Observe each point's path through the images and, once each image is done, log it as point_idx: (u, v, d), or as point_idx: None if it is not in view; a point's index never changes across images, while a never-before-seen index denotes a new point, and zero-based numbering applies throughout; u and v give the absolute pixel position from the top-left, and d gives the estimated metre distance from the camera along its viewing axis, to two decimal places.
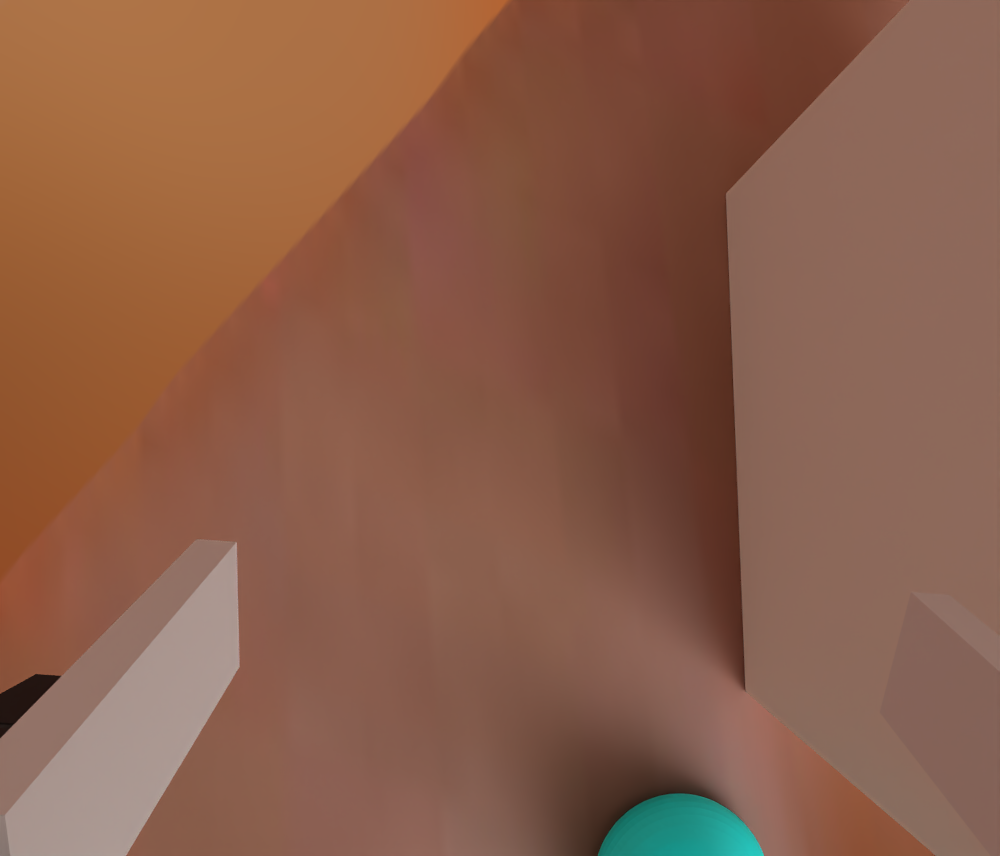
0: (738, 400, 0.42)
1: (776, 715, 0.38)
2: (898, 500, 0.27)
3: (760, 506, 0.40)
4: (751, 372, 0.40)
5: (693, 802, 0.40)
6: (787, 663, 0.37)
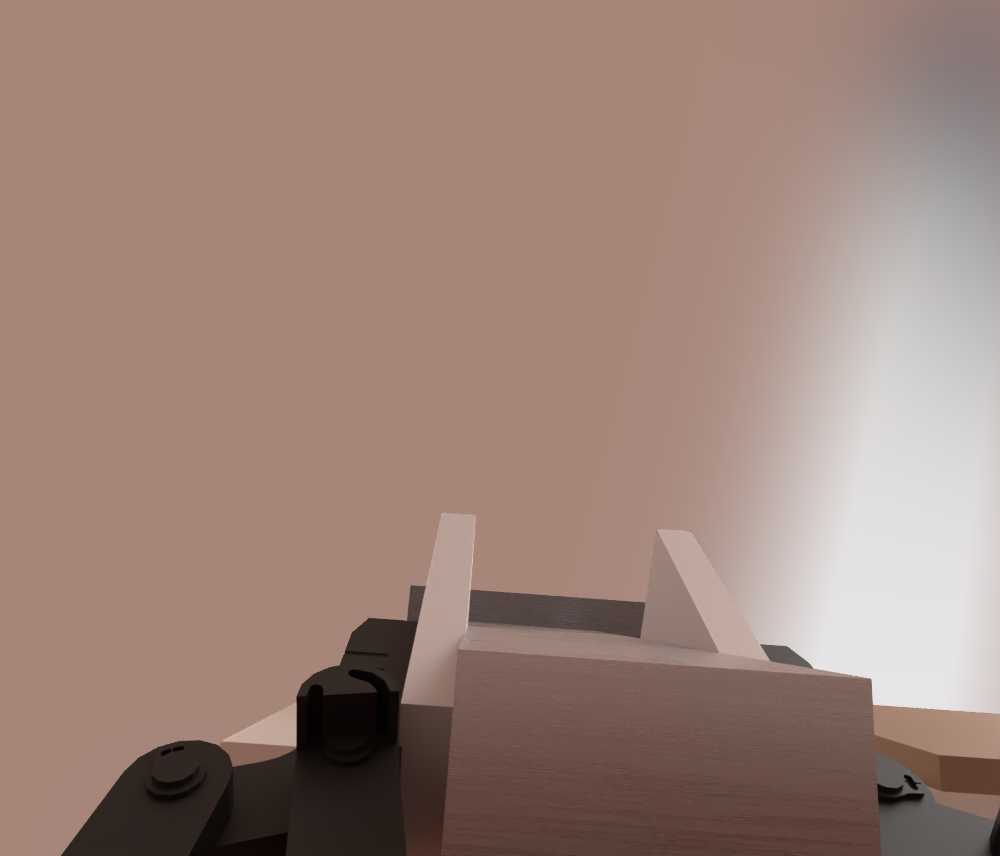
0: None
1: None
2: None
3: None
4: None
5: None
6: None
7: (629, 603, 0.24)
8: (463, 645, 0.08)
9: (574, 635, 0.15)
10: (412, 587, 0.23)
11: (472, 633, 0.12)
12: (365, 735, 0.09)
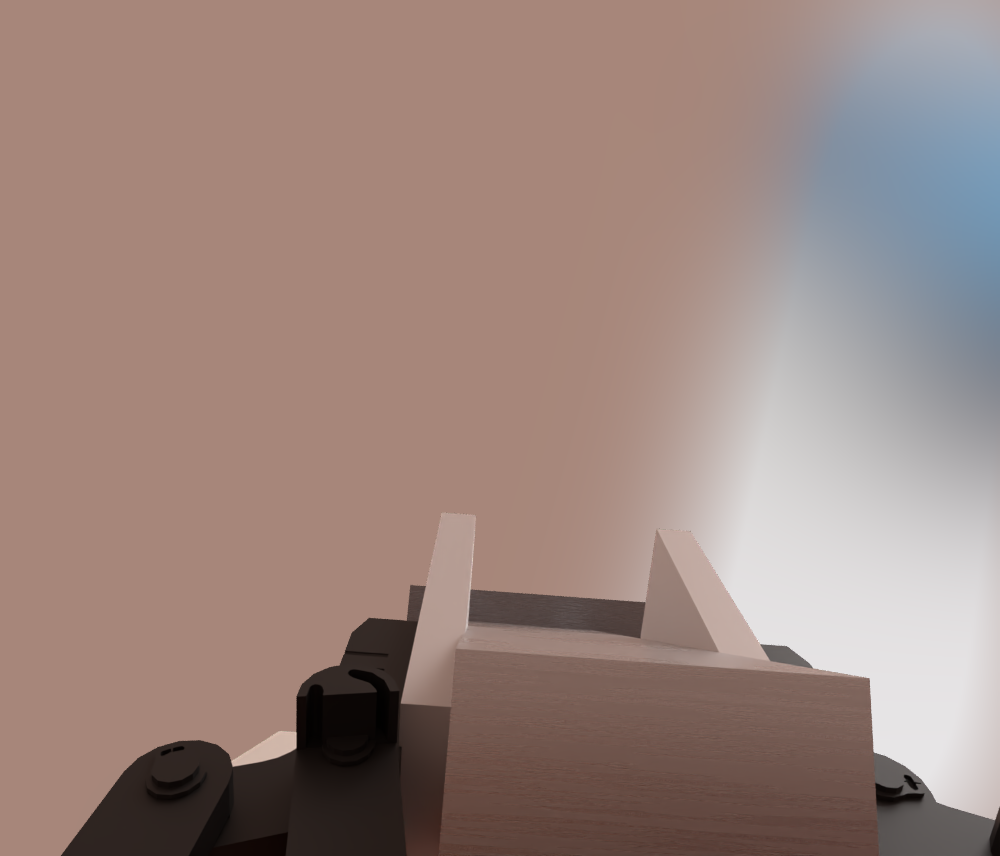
0: None
1: None
2: None
3: None
4: None
5: None
6: None
7: (629, 603, 0.24)
8: (461, 645, 0.08)
9: (573, 635, 0.15)
10: (412, 587, 0.23)
11: (471, 633, 0.12)
12: (365, 735, 0.09)
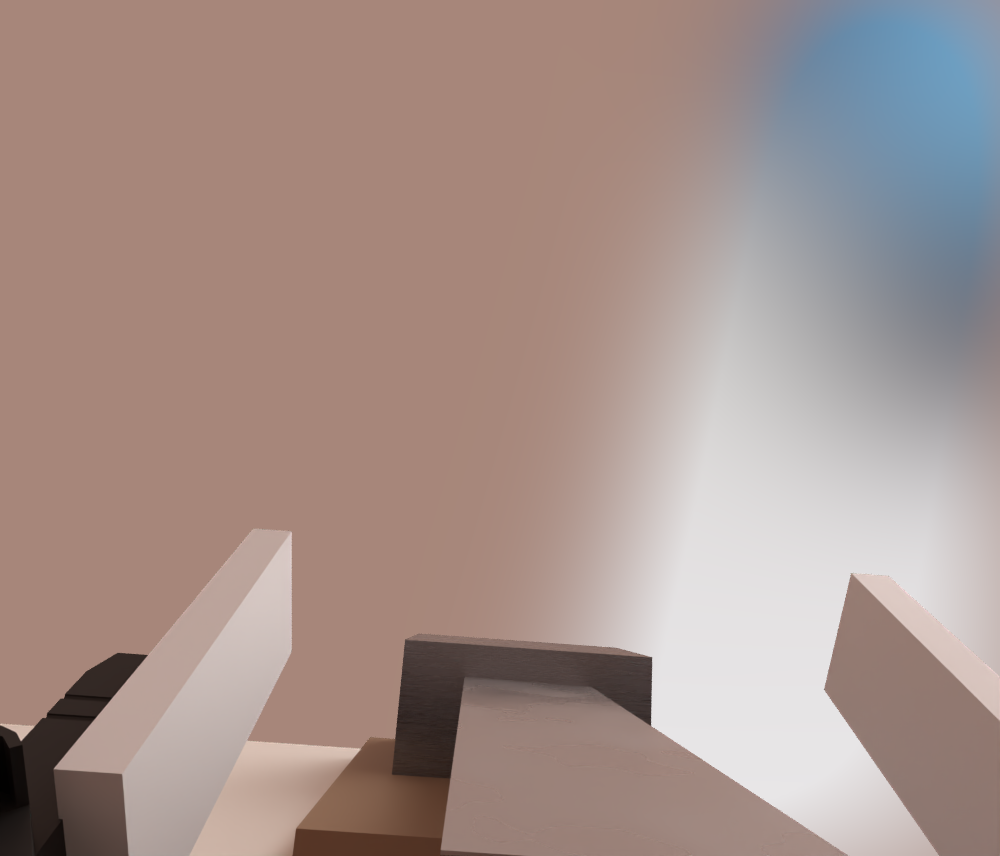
0: None
1: None
2: None
3: None
4: None
5: None
6: None
7: (628, 657, 0.23)
8: (448, 825, 0.07)
9: (571, 723, 0.15)
10: (407, 641, 0.23)
11: (463, 747, 0.11)
12: None
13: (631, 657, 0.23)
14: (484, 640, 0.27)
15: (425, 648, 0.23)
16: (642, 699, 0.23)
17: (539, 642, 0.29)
